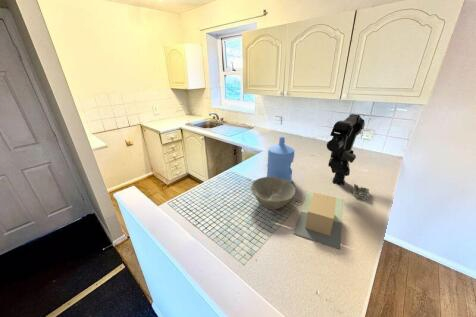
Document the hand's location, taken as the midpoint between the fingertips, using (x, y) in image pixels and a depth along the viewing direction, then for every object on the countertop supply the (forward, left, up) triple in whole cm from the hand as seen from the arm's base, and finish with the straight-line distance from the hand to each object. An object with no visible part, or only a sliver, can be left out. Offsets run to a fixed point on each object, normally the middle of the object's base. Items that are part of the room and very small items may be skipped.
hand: (333, 172), depth 107 cm
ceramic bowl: (+26, -26, -12) cm, 39 cm away
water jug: (0, -30, -12) cm, 32 cm away
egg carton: (-3, +15, -12) cm, 20 cm away
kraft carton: (+29, -2, -12) cm, 31 cm away
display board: (+24, -2, -12) cm, 27 cm away
